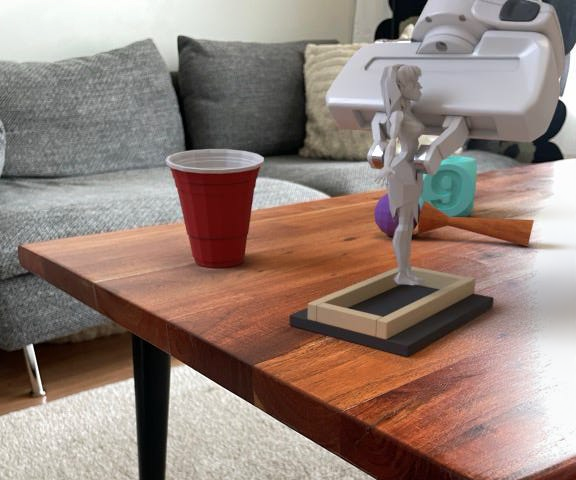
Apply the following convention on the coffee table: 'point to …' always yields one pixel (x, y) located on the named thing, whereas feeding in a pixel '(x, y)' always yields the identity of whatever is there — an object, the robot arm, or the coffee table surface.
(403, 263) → the human figurine
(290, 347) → the coffee table surface
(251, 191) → the plastic cup
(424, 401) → the coffee table surface
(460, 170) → the decorative dice
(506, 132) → the robot arm
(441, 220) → the kendama
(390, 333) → the stand pad
